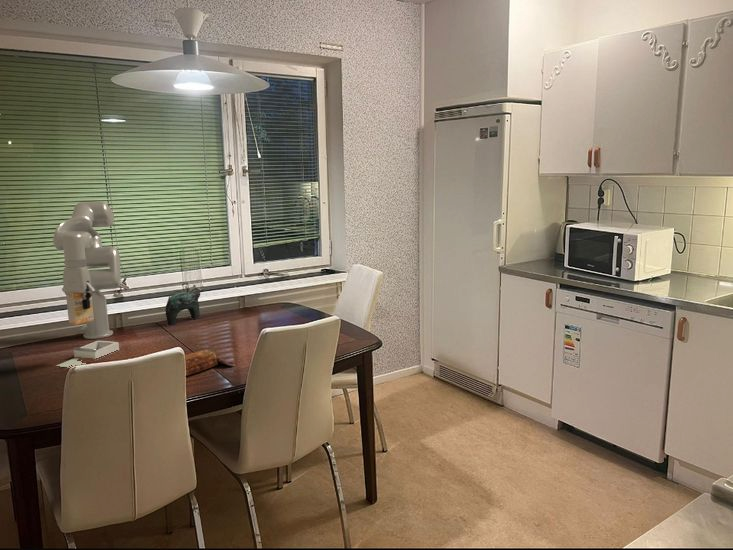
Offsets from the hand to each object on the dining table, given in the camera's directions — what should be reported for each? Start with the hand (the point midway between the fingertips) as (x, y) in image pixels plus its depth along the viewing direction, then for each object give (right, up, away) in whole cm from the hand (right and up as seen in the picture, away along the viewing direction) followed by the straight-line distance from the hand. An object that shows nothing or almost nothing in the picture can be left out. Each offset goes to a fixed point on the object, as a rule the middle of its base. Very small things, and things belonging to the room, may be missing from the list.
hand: (80, 307), depth 226 cm
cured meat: (+51, -24, -8) cm, 57 cm away
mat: (-1, -23, -2) cm, 23 cm away
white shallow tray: (+2, -20, +11) cm, 23 cm away
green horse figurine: (+22, -11, +62) cm, 67 cm away
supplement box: (0, -6, +1) cm, 6 cm away
